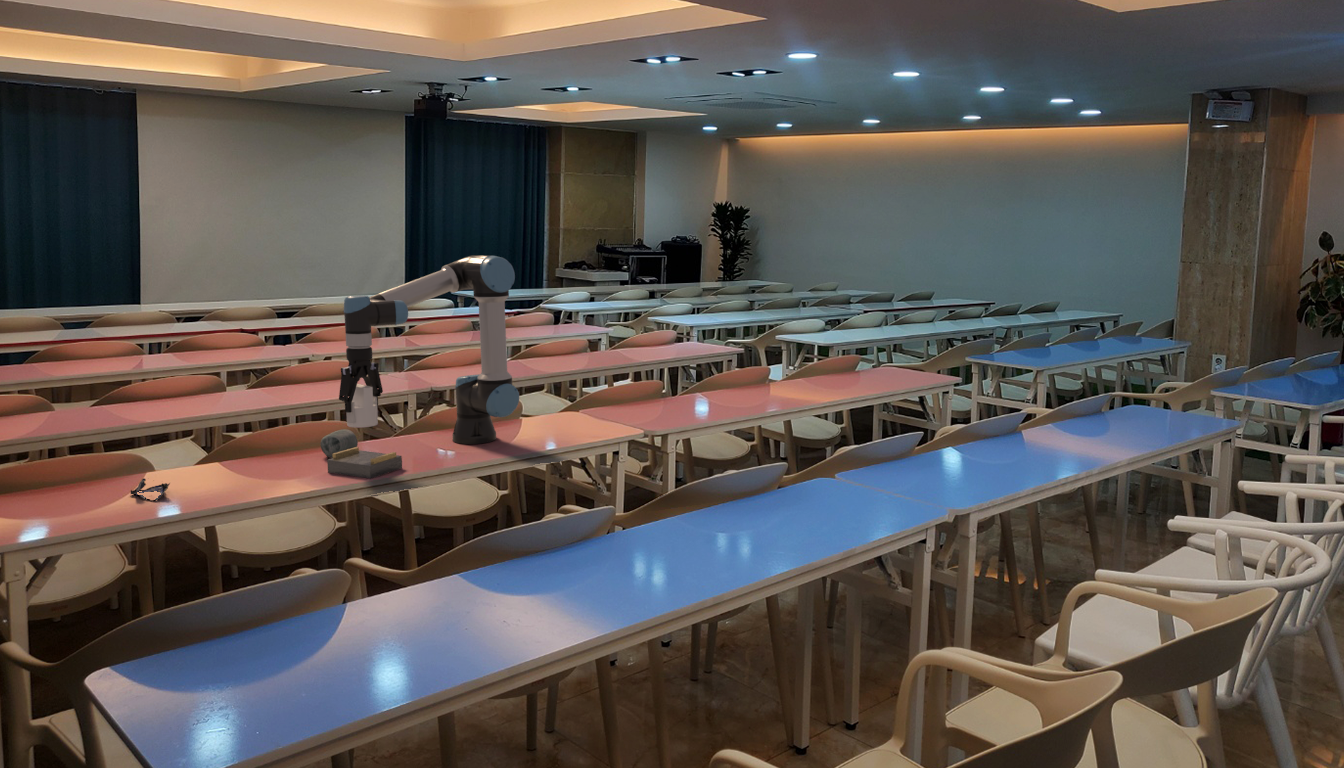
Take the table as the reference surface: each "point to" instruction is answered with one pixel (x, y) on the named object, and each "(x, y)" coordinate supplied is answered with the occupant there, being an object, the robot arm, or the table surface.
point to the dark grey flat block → (363, 463)
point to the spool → (338, 442)
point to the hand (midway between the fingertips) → (362, 419)
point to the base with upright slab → (364, 407)
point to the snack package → (150, 489)
